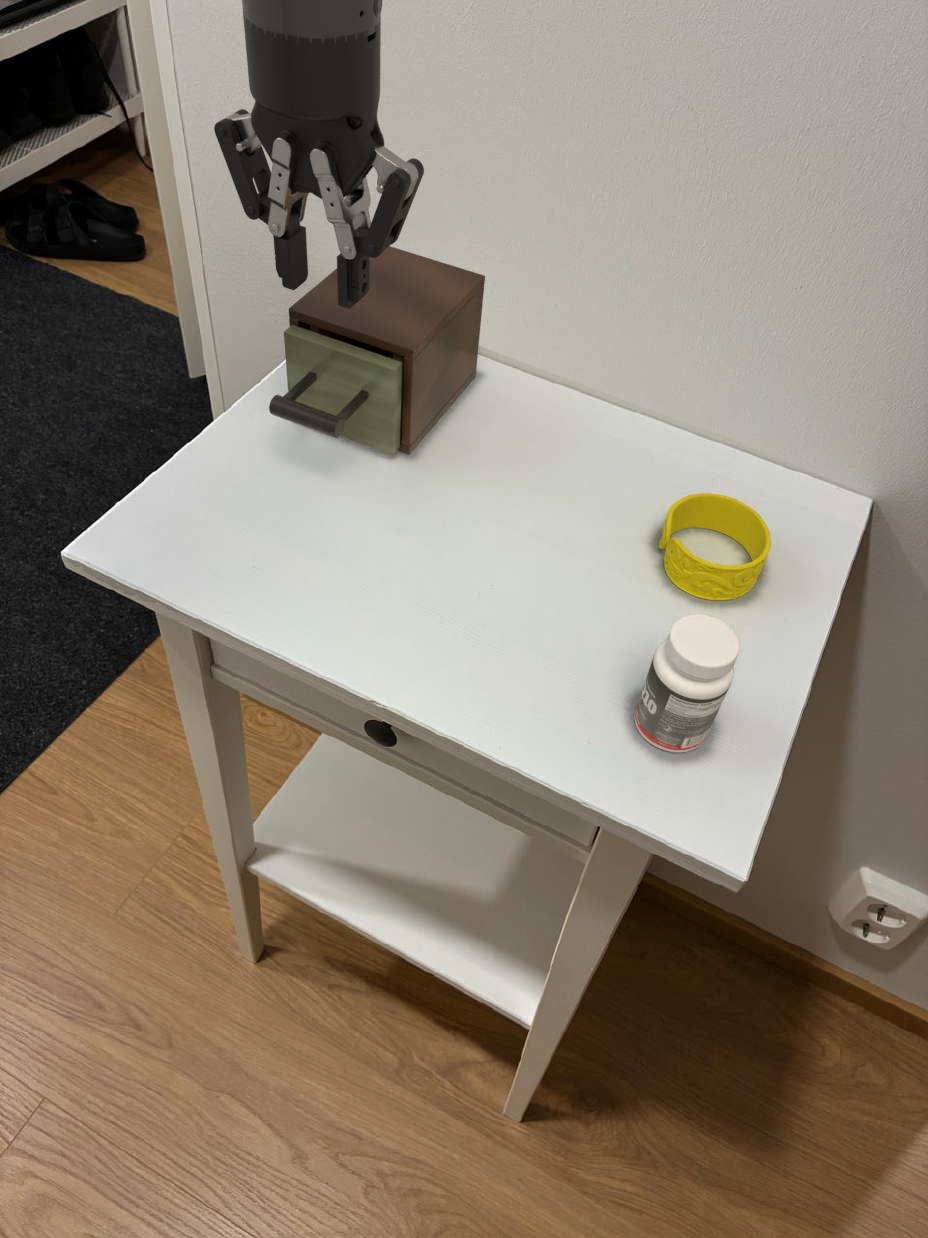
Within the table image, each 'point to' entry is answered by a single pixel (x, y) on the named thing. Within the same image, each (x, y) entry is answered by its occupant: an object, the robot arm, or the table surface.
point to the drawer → (342, 388)
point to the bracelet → (723, 518)
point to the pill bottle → (687, 683)
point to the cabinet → (410, 329)
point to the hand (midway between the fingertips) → (323, 292)
